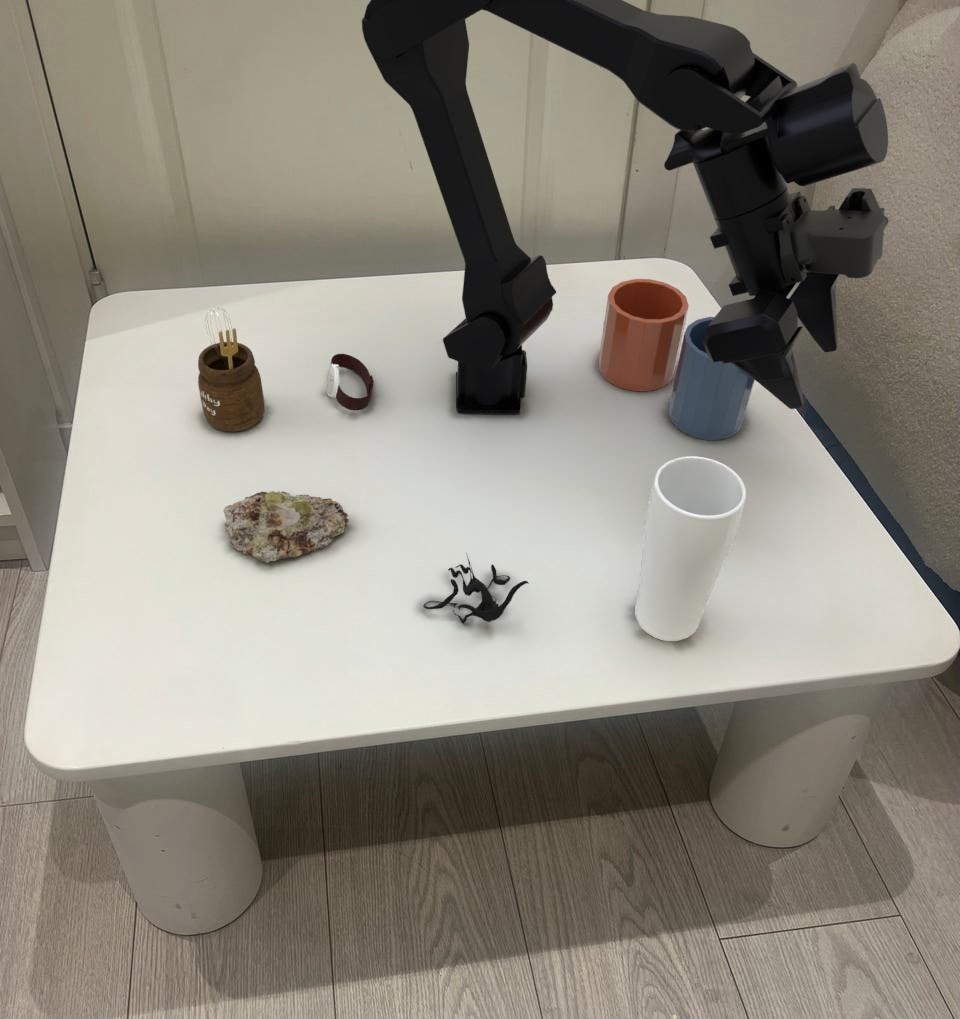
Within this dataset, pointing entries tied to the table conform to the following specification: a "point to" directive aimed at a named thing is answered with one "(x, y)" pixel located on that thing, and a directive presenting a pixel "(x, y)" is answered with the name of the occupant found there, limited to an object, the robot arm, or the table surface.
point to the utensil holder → (229, 384)
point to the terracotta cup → (642, 334)
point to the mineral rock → (283, 524)
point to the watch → (333, 381)
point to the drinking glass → (686, 543)
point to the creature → (487, 606)
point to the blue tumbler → (707, 390)
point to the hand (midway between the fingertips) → (814, 378)
